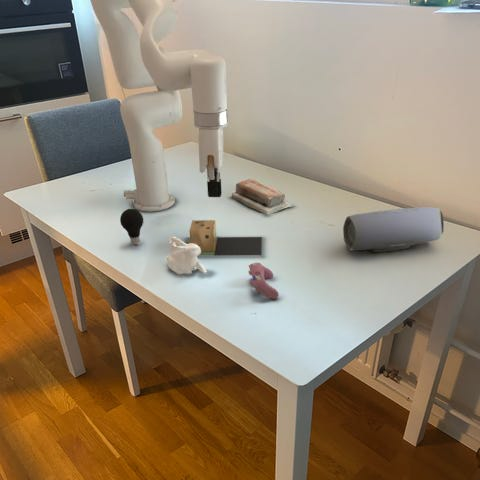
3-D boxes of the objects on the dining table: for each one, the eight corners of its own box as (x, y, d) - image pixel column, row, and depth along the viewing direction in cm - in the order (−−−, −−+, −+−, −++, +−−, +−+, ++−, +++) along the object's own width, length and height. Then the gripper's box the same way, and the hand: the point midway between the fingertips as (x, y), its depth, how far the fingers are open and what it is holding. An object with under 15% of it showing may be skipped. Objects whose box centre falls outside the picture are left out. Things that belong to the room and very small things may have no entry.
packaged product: (229, 183, 154) (255, 175, 159) (230, 198, 157) (255, 190, 161) (266, 200, 142) (293, 191, 147) (266, 216, 145) (292, 207, 150)
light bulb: (128, 252, 130) (122, 216, 124) (122, 242, 134) (115, 208, 128) (150, 246, 132) (144, 211, 126) (143, 237, 136) (137, 203, 131)
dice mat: (182, 257, 127) (182, 255, 127) (187, 239, 135) (187, 237, 135) (261, 256, 126) (261, 255, 125) (261, 238, 134) (261, 236, 134)
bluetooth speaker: (422, 234, 133) (430, 198, 127) (440, 251, 125) (448, 213, 119) (340, 243, 130) (344, 207, 124) (353, 261, 123) (357, 223, 117)
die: (214, 252, 128) (191, 252, 128) (216, 241, 132) (194, 241, 133) (213, 230, 124) (189, 230, 124) (215, 220, 129) (192, 220, 129)
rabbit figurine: (212, 273, 120) (209, 237, 114) (189, 287, 115) (185, 249, 110) (177, 258, 126) (173, 223, 121) (155, 270, 122) (149, 234, 116)
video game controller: (257, 283, 119) (243, 261, 115) (274, 274, 118) (260, 252, 114) (262, 307, 111) (247, 284, 107) (280, 298, 110) (266, 274, 106)
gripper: (197, 109, 118) (202, 184, 129) (189, 128, 106) (196, 208, 117) (229, 108, 117) (231, 184, 128) (225, 127, 105) (228, 208, 116)
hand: (214, 195), depth 122 cm, fingers closed
